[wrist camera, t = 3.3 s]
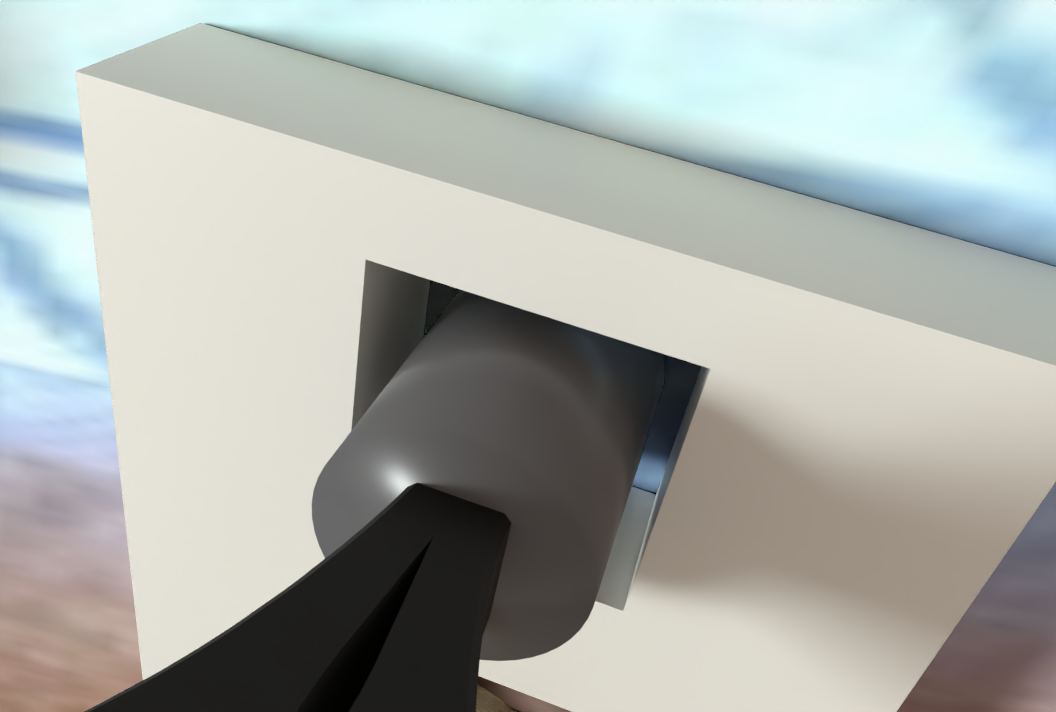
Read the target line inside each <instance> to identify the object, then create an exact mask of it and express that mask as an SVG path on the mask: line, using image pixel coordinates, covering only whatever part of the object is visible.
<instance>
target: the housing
mask: <svg viewBox="0 0 1056 712" xmlns="http://www.w3.org/2000/svg"><path fill="white" fill-rule="evenodd" d="M75 72H76V81H77V90H78V99H79V108H80V117H81V126H82V135H83V144H84V153H85V162H86V171H87V180H88V189H89V198H90V207H91V216H92V225H93V234H94V243H95V252H96V261H97V270H98V279H99V288H100V297H101V306H102V315H103V324H104V333H105V342H106V352H107V361H108V370H109V379H110V388H111V397H112V406H113V415H114V424H115V433H116V442H117V451H118V460H119V469H120V478H121V487H122V496H123V505H124V514H125V523H126V532H127V541H128V550H129V559H130V568H131V577H132V586H133V595H134V604H135V613H136V622H137V631H138V640H139V649H140V658H141V667H142V676H143V680H145V679H147V678H148V677H150V676H152V675H154V674H156V673H157V672H159V671H161V670H162V669H164V668H166V667H168V666H169V665H171V664H173V663H174V662H176V661H178V660H179V659H181V658H183V657H184V656H186V655H188V654H189V653H191V652H193V651H194V650H196V649H198V648H199V647H201V646H202V645H204V644H206V643H207V642H209V641H210V640H212V639H213V638H215V637H217V636H218V635H220V634H221V633H223V632H224V631H226V630H227V629H229V628H230V627H232V626H233V625H235V624H236V623H238V622H239V621H241V620H242V619H244V618H245V617H246V616H248V615H249V614H251V613H252V612H254V611H255V610H256V609H258V608H259V607H261V606H262V605H264V604H265V603H266V602H268V601H269V600H271V599H272V598H274V597H275V596H276V595H278V594H279V593H281V592H282V591H284V590H285V589H286V588H288V587H289V586H290V585H292V584H293V583H294V582H296V581H297V580H298V579H300V578H301V577H302V576H303V575H305V574H306V573H307V572H309V571H310V570H311V569H312V568H314V567H315V566H316V565H318V564H319V563H320V562H321V561H323V560H324V559H325V557H324V555H323V553H322V551H321V549H320V547H319V544H318V541H317V538H316V535H315V531H314V526H313V521H312V498H313V491H314V488H315V485H316V482H317V479H318V477H319V475H320V473H321V471H322V469H323V468H324V466H325V465H326V463H327V462H328V461H329V459H330V458H331V457H332V456H333V454H334V453H335V452H336V450H337V449H338V448H339V446H340V445H341V444H342V443H343V441H344V440H345V439H346V437H347V436H348V435H349V433H350V432H351V431H352V430H353V428H354V427H355V426H356V424H357V423H358V422H359V420H360V419H361V418H362V416H363V415H364V414H365V413H366V411H367V410H368V409H369V407H370V406H371V405H372V403H373V402H374V401H375V400H376V398H377V397H378V396H379V394H380V393H381V392H382V390H383V389H384V388H385V387H386V385H387V384H388V383H389V381H390V380H391V379H392V377H393V376H394V375H395V373H396V372H397V371H398V370H399V368H400V367H401V366H402V364H403V363H404V362H405V360H406V359H407V358H408V357H409V355H410V354H411V353H412V351H413V350H414V349H415V347H416V346H417V345H418V344H419V342H420V341H421V340H422V338H423V333H424V326H425V318H426V311H427V303H428V295H429V288H430V280H432V281H435V282H438V283H442V284H445V285H448V286H451V287H454V288H457V289H460V290H464V291H467V292H470V293H473V294H476V295H479V296H482V297H486V298H489V299H492V300H495V301H498V302H501V303H505V304H508V305H511V306H514V307H517V308H520V309H523V310H527V311H530V312H533V313H536V314H539V315H542V316H545V317H549V318H552V319H555V320H558V321H561V322H564V323H567V324H571V325H574V326H577V327H580V328H583V329H586V330H590V331H593V332H596V333H599V334H602V335H605V336H608V337H612V338H615V339H618V340H621V341H624V342H627V343H630V344H634V345H637V346H640V347H643V348H646V349H649V350H652V351H656V352H659V353H662V354H665V355H668V356H671V357H675V358H678V359H681V360H684V361H687V362H690V363H693V364H697V365H700V366H701V368H700V371H699V374H698V377H697V380H696V382H695V385H694V388H693V391H692V394H691V397H690V399H689V402H688V405H687V408H686V411H685V414H684V416H683V419H682V422H681V425H680V428H679V431H678V433H677V436H676V439H675V442H674V445H673V448H672V450H671V453H670V456H669V459H668V462H667V465H666V467H665V470H664V473H663V476H662V479H661V482H660V484H659V487H658V490H657V493H656V494H653V493H650V492H647V491H644V490H641V489H638V488H635V487H631V490H630V493H629V497H628V500H627V503H626V506H625V509H624V512H623V515H622V519H621V522H620V525H619V528H618V531H617V534H616V537H615V541H614V544H613V547H612V550H611V553H610V556H609V559H608V563H607V566H606V569H605V572H604V575H603V578H602V581H601V585H600V588H599V591H598V594H597V597H596V600H595V603H594V606H593V609H592V611H591V613H590V616H589V618H588V620H587V621H586V622H585V624H584V625H583V627H582V628H581V630H580V631H579V632H577V633H576V634H575V635H574V636H573V637H572V638H571V639H570V640H569V641H567V642H566V643H564V644H563V645H561V646H560V647H558V648H556V649H554V650H552V651H550V652H547V653H545V654H542V655H538V656H535V657H532V658H526V659H520V660H510V661H490V660H480V662H479V673H478V676H480V677H482V678H485V679H488V680H490V681H493V682H495V683H498V684H501V685H503V686H506V687H509V688H511V689H514V690H516V691H519V692H522V693H524V694H527V695H530V696H532V697H535V698H537V699H540V700H543V701H545V702H548V703H550V704H553V705H556V706H558V707H561V708H564V709H566V710H569V711H571V712H897V710H898V709H899V707H900V706H901V705H902V703H903V702H904V700H905V699H906V697H907V696H908V694H909V693H910V692H911V690H912V689H913V687H914V686H915V684H916V683H917V681H918V680H919V679H920V677H921V676H922V674H923V673H924V671H925V670H926V668H927V667H928V666H929V664H930V663H931V661H932V660H933V658H934V657H935V655H936V654H937V653H938V651H939V650H940V648H941V647H942V645H943V644H944V643H945V641H946V640H947V638H948V637H949V635H950V634H951V632H952V631H953V630H954V628H955V627H956V625H957V624H958V622H959V621H960V619H961V618H962V617H963V615H964V614H965V612H966V611H967V609H968V608H969V606H970V605H971V604H972V602H973V601H974V599H975V598H976V596H977V595H978V593H979V592H980V591H981V589H982V588H983V586H984V585H985V583H986V582H987V580H988V579H989V578H990V576H991V575H992V573H993V572H994V570H995V569H996V567H997V566H998V565H999V563H1000V562H1001V560H1002V559H1003V557H1004V556H1005V554H1006V553H1007V552H1008V550H1009V549H1010V547H1011V546H1012V544H1013V543H1014V541H1015V540H1016V539H1017V537H1018V536H1019V534H1020V533H1021V531H1022V530H1023V528H1024V527H1025V526H1026V524H1027V523H1028V521H1029V520H1030V518H1031V517H1032V516H1033V514H1034V513H1035V511H1036V510H1037V508H1038V507H1039V505H1040V504H1041V503H1042V501H1043V500H1044V498H1045V497H1046V495H1047V494H1048V492H1049V491H1050V490H1051V488H1052V487H1053V485H1054V484H1055V482H1056V267H1054V266H1051V265H1047V264H1044V263H1040V262H1037V261H1033V260H1030V259H1026V258H1023V257H1019V256H1016V255H1012V254H1009V253H1005V252H1002V251H998V250H995V249H991V248H988V247H984V246H981V245H977V244H974V243H970V242H967V241H963V240H960V239H956V238H953V237H949V236H946V235H942V234H938V233H935V232H931V231H928V230H924V229H921V228H917V227H914V226H910V225H907V224H903V223H900V222H896V221H893V220H889V219H886V218H882V217H879V216H875V215H872V214H868V213H865V212H861V211H858V210H854V209H851V208H847V207H844V206H840V205H837V204H833V203H830V202H826V201H823V200H819V199H816V198H812V197H809V196H805V195H802V194H798V193H795V192H791V191H788V190H784V189H781V188H777V187H774V186H770V185H767V184H763V183H760V182H756V181H753V180H749V179H746V178H742V177H739V176H735V175H732V174H728V173H725V172H721V171H718V170H714V169H711V168H707V167H704V166H700V165H697V164H693V163H690V162H686V161H683V160H679V159H676V158H672V157H669V156H665V155H662V154H658V153H655V152H651V151H648V150H644V149H641V148H637V147H634V146H630V145H627V144H623V143H620V142H616V141H613V140H609V139H606V138H602V137H599V136H595V135H592V134H588V133H585V132H581V131H577V130H574V129H570V128H567V127H563V126H560V125H556V124H553V123H549V122H546V121H542V120H539V119H535V118H532V117H528V116H525V115H521V114H518V113H514V112H511V111H507V110H504V109H500V108H497V107H493V106H490V105H486V104H483V103H479V102H476V101H472V100H469V99H465V98H462V97H458V96H455V95H451V94H448V93H444V92H441V91H437V90H434V89H430V88H427V87H423V86H420V85H416V84H413V83H409V82H406V81H402V80H399V79H395V78H392V77H388V76H385V75H381V74H378V73H374V72H371V71H367V70H364V69H360V68H357V67H353V66H350V65H346V64H343V63H339V62H336V61H332V60H329V59H325V58H322V57H318V56H315V55H311V54H308V53H304V52H301V51H297V50H294V49H290V48H287V47H283V46H280V45H276V44H273V43H269V42H266V41H262V40H259V39H255V38H252V37H248V36H245V35H241V34H238V33H234V32H231V31H227V30H224V29H220V28H216V27H213V26H209V25H206V24H202V23H199V24H197V25H194V26H192V27H189V28H186V29H184V30H181V31H179V32H176V33H173V34H171V35H168V36H166V37H163V38H160V39H158V40H155V41H153V42H150V43H147V44H145V45H142V46H140V47H137V48H135V49H132V50H129V51H127V52H124V53H122V54H119V55H116V56H114V57H111V58H109V59H106V60H103V61H101V62H98V63H96V64H93V65H90V66H88V67H85V68H83V69H80V70H77V71H75ZM514 712H515V711H514Z"/></svg>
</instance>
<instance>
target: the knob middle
mask: <svg viewBox="0 0 1056 712" xmlns="http://www.w3.org/2000/svg"><path fill="white" fill-rule="evenodd" d="M476 712H514V711H513V710H512V709H511V708H510V707H509V706H508V705H507V704H506V703H504V702H503V701H502V700H500V699H499V698H498V697H496V696H495V695H494V694H492V693H491V692H489V691H487V690H486V689H484V688H483V687H481V686H479V685H477V702H476Z"/></svg>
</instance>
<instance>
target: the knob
mask: <svg viewBox="0 0 1056 712" xmlns="http://www.w3.org/2000/svg"><path fill="white" fill-rule="evenodd" d="M664 377H665V360H664V354H662V353H659V352H656V351H652V350H649V349H646V348H643V347H640V346H637V345H634V344H630V343H627V342H624V341H621V340H618V339H615V338H612V337H608V336H605V335H602V334H599V333H596V332H593V331H590V330H586V329H583V328H580V327H577V326H574V325H571V324H567V323H564V322H561V321H558V320H555V319H552V318H549V317H545V316H542V315H539V314H536V313H533V312H530V311H527V310H523V309H520V308H517V307H514V306H511V305H508V304H505V303H501V302H498V301H495V300H492V299H489V298H486V297H482V296H479V295H476V294H473V293H470V292H467V291H464V290H459V291H458V293H457V294H456V295H455V297H454V298H453V299H452V301H451V302H450V303H449V304H448V306H447V307H446V308H445V310H444V311H443V312H442V314H441V315H440V316H439V317H438V319H437V320H436V321H435V323H434V324H433V325H432V327H431V328H430V329H429V331H428V332H427V333H426V334H425V336H424V337H423V338H422V340H421V341H420V342H419V344H418V345H417V346H416V347H415V349H414V350H413V351H412V353H411V354H410V355H409V357H408V358H407V359H406V360H405V362H404V363H403V364H402V366H401V367H400V368H399V370H398V371H397V372H396V373H395V375H394V376H393V377H392V379H391V380H390V381H389V383H388V384H387V385H386V387H385V388H384V389H383V390H382V392H381V393H380V394H379V396H378V397H377V398H376V400H375V401H374V402H373V403H372V405H371V406H370V407H369V409H368V410H367V411H366V413H365V414H364V415H363V416H362V418H361V419H360V420H359V422H358V423H357V424H356V426H355V427H354V428H353V430H352V431H351V432H350V433H349V435H348V436H347V437H346V439H345V440H344V441H343V443H342V444H341V445H340V446H339V448H338V449H337V450H336V452H335V453H334V454H333V456H332V457H331V458H330V459H329V461H328V462H327V463H326V465H325V466H324V468H323V469H322V471H321V473H320V475H319V477H318V479H317V482H316V485H315V488H314V491H313V498H312V521H313V526H314V531H315V535H316V538H317V541H318V544H319V547H320V549H321V551H322V553H323V555H324V557H325V558H326V557H328V556H329V555H330V554H332V553H333V552H334V551H335V550H337V549H338V548H339V547H340V546H342V545H343V544H344V543H345V542H346V541H348V540H349V539H350V538H351V537H352V536H354V535H355V534H356V533H357V532H358V531H360V530H361V529H362V528H363V527H364V526H365V525H367V524H368V523H369V522H370V521H371V520H372V519H373V518H375V517H376V516H377V515H378V514H379V513H380V512H381V511H382V510H383V509H385V508H386V507H387V506H388V505H389V504H390V503H391V502H392V501H393V500H394V499H395V498H397V497H398V496H399V495H400V494H401V493H402V492H403V491H404V490H405V489H406V488H407V487H408V486H410V485H413V484H415V483H419V484H422V485H425V486H428V487H431V488H433V489H436V490H439V491H442V492H445V493H448V494H450V495H453V496H456V497H459V498H462V499H465V500H468V501H470V502H473V503H476V504H479V505H482V506H485V507H487V508H490V509H493V510H496V511H499V512H502V513H504V514H506V516H507V517H508V519H509V520H510V522H511V523H512V524H511V528H510V532H509V536H508V541H507V545H506V549H505V554H504V558H503V562H502V566H501V571H500V575H499V579H498V584H497V588H496V592H495V596H494V601H493V605H492V609H491V614H490V617H489V620H488V622H487V625H486V628H485V631H484V633H483V636H482V644H481V653H480V660H490V661H510V660H520V659H526V658H532V657H535V656H538V655H542V654H545V653H547V652H550V651H552V650H554V649H556V648H558V647H560V646H561V645H563V644H564V643H566V642H567V641H569V640H570V639H571V638H572V637H573V636H574V635H575V634H576V633H577V632H579V631H580V630H581V628H582V627H583V625H584V624H585V622H586V621H587V620H588V618H589V616H590V613H591V611H592V609H593V606H594V603H595V600H596V597H597V594H598V591H599V588H600V585H601V581H602V578H603V575H604V572H605V569H606V566H607V563H608V559H609V556H610V553H611V550H612V547H613V544H614V541H615V537H616V534H617V531H618V528H619V525H620V522H621V519H622V515H623V512H624V509H625V506H626V503H627V500H628V497H629V493H630V490H631V487H632V484H633V481H634V478H635V474H636V471H637V468H638V465H639V462H640V459H641V456H642V452H643V449H644V446H645V443H646V440H647V437H648V434H649V430H650V427H651V424H652V421H653V418H654V415H655V412H656V408H657V405H658V402H659V399H660V396H661V392H662V388H663V384H664Z"/></svg>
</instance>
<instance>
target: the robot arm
mask: <svg viewBox="0 0 1056 712" xmlns="http://www.w3.org/2000/svg"><path fill="white" fill-rule="evenodd" d="M511 524H512V523H511V522H510V520H509V519H508V517H507V516H506V514H504V513H502V512H499V511H496V510H493V509H490V508H487V507H485V506H482V505H479V504H476V503H473V502H470V501H468V500H465V499H462V498H459V497H456V496H453V495H450V494H448V493H445V492H442V491H439V490H436V489H433V488H431V487H428V486H425V485H422V484H419V483H415V484H413V485H410V486H408V487H407V488H406V489H405V490H404V491H403V492H402V493H401V494H400V495H399V496H398V497H397V498H395V499H394V500H393V501H392V502H391V503H390V504H389V505H388V506H387V507H386V508H385V509H383V510H382V511H381V512H380V513H379V514H378V515H377V516H376V517H375V518H373V519H372V520H371V521H370V522H369V523H368V524H367V525H365V526H364V527H363V528H362V529H361V530H360V531H358V532H357V533H356V534H355V535H354V536H352V537H351V538H350V539H349V540H348V541H346V542H345V543H344V544H343V545H342V546H340V547H339V548H338V549H337V550H335V551H334V552H333V553H332V554H330V555H329V556H328V557H326V558H325V559H324V560H323V561H321V562H320V563H319V564H318V565H316V566H315V567H314V568H312V569H311V570H310V571H309V572H307V573H306V574H305V575H303V576H302V577H301V578H300V579H298V580H297V581H296V582H294V583H293V584H292V585H290V586H289V587H288V588H286V589H285V590H284V591H282V592H281V593H279V594H278V595H276V596H275V597H274V598H272V599H271V600H269V601H268V602H266V603H265V604H264V605H262V606H261V607H259V608H258V609H256V610H255V611H254V612H252V613H251V614H249V615H248V616H246V617H245V618H244V619H242V620H241V621H239V622H238V623H236V624H235V625H233V626H232V627H230V628H229V629H227V630H226V631H224V632H223V633H221V634H220V635H218V636H217V637H215V638H213V639H212V640H210V641H209V642H207V643H206V644H204V645H202V646H201V647H199V648H198V649H196V650H194V651H193V652H191V653H189V654H188V655H186V656H184V657H183V658H181V659H179V660H178V661H176V662H174V663H173V664H171V665H169V666H168V667H166V668H164V669H162V670H161V671H159V672H157V673H156V674H154V675H152V676H150V677H148V678H147V679H145V680H143V681H141V682H139V683H137V684H135V685H134V686H132V687H130V688H128V689H126V690H124V691H123V692H121V693H119V694H117V695H115V696H113V697H112V698H110V699H108V700H106V701H104V702H102V703H100V704H99V705H97V706H95V707H93V708H91V709H89V710H87V711H85V712H476V702H477V685H478V673H479V662H480V653H481V644H482V636H483V633H484V631H485V628H486V625H487V622H488V620H489V617H490V614H491V609H492V605H493V601H494V596H495V592H496V588H497V584H498V579H499V575H500V571H501V566H502V562H503V558H504V554H505V549H506V545H507V541H508V536H509V532H510V528H511Z"/></svg>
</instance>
